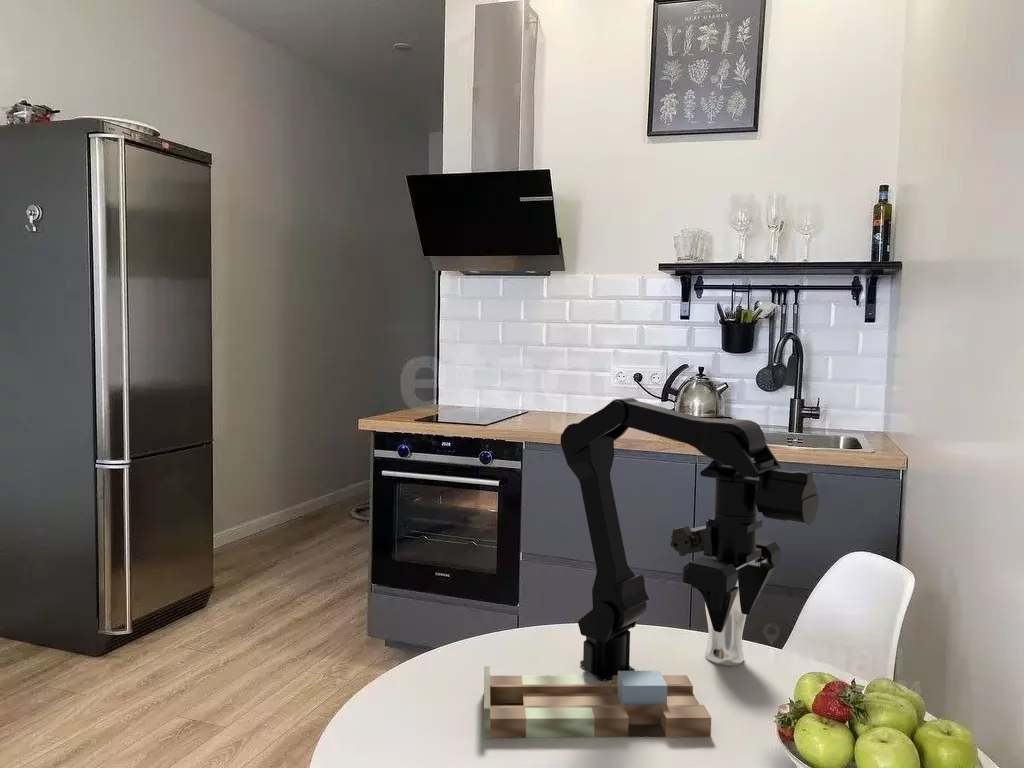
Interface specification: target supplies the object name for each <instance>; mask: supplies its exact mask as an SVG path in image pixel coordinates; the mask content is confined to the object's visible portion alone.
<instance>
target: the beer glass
mask: <svg viewBox="0 0 1024 768" xmlns="http://www.w3.org/2000/svg"><path fill="white" fill-rule="evenodd" d="M736 587H739V585H738V581H737V583H736ZM704 605H705V607H704V608H705V613H706V614H705V615H706V621H707V627H708V635H707V636H708V638H707V639H708V640H707V645H706V648H705V652H704V653H705V658H706V659H707V660H708V661H709V662H712V663H713V664H717V665H720V666H727V667H731V666H739V665H741V664H742V663H743V662H744V651H743V640H742V639H743V632H744V627H745V622H746V618H747V615H746V614H742V612H741V607H740V597H739V589H738V592H737V594H736V597H735V600H734V602H733V605H732V608H731V610H730V613H729V616H728V619H727V621H726V624H725V626H724V629H723V631H722V632H721V633H720V632H716V631H714V629H713V626H712V623H711V619H710V616H709V613H708V609H707V606H706V603H705V602H704Z"/></svg>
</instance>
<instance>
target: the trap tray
mask: <svg viewBox="0 0 1024 768" xmlns="http://www.w3.org/2000/svg"><path fill="white" fill-rule="evenodd" d="M483 670H484V671H483V674H484V675H483V676H484V677H483V685H484V686H483V739H519V738H520V739H521V738H522V739H529V738H531V739H533V738H537V739H539V738H545V739H548V738H550V739H551V738H552V739H553V738H555V739H556V738H562V739H563V738H681V737H682V738H691V737H692V738H694V737H695V738H697V737H698V738H700V737H701V738H702V737H703V738H708V737H709V738H710V737H711V735H712V717H711V715H710V713H709V711H708V710H707V708H706V706H705V704H700V703H699V701H698V699H697V697H696V695H695V694H694V685H693V683H692V682H691V680H690V678H689V677H688V675H687V674H674V675H673V674H665V675H663V674H662V676H663V678H664V680H665V682H666V684H667V705H621V704H620V701H619V698H618V695H617V688H618V675H613V678H612V684H609V683H608V684H606V683H605V684H603V683H602V684H601V683H600V684H597V683H596V684H590V683H589V684H586V683H585V679H584V676H583V674H582V675H581V674H579V675H575V674H574V675H567V674H566V675H562V674H561V675H491V672H490V671H491V667H490V666H489V665H486V666H484V667H483Z"/></svg>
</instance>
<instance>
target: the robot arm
mask: <svg viewBox="0 0 1024 768" xmlns="http://www.w3.org/2000/svg"><path fill="white" fill-rule="evenodd" d="M629 428H631V429H633V430H638V431H641V432H644V433H648V434H651V435H654V436H659V437H662V438H665V439H668V440H673V441H675V442H680V443H682V444H686V445H689V446H690V447H692V448H695V450H697V451H698V452H699V453H700V454H702V455H704V456H705V457H707V458H709V459H711V461H710V463H709V465H707V466H706V467H705V468H703V469H702V470H701V471H700V473H699V474H700V476H701V477H704V478H711V479H712V478H713V479H714V499H713V500H714V501H713V502H714V503H713V505H714V506H713V508H714V509H713V516H712V517H709V518H708V519H707V520H706V522H705V525H703V526H702V525H701V526H698V527H693V528H691V527H689V526H688V525H684V526H681V527H677V528H673V529H672V532H671V533H672V534H671V536H670V537H671V541H670V544H669V545H670V546H671V548H673V550H674V551H676V552H678V555H679V557H685V556H687V555H688V554H694V553H701V552H703V556H700V557H698V558H695V559H693V560H691V561H689V562H688V563H687V564H685V565H684V566H683V568H682V582H683V583H684V584H687V585H689V586H690V587H691V588H694V589H696V590H698V592H700V593H701V595H702V598H703V600H704V604H705V603H706V606H707V609H708V613H709V616H710V619H711V623H712V626H713V629H714V631H716V632H720V633H721V632H722V631H723V629H724V626H725V624H726V621H727V619H728V616H729V613H730V610H731V608H732V605H733V602H734V600H735V597H736V594H737V592H738V589H739V597H740V607H741V612H742V614H746V616H748V615H750V614H751V612H752V610H753V608H754V607H755V605H756V602H757V601H758V598H759V597H760V595H761V593H762V591H763V590H764V588H765V585H766V584H767V582H768V580H769V578H770V577H771V574H772V573H773V571H774V570H775V569H776V565H777V564H778V563H780V562H781V558H782V557H781V556H782V555H781V554H782V553H781V552H782V550H781V547H780V546H779V545H778V544H777V542H776V541H773V540H769V539H763V538H759V537H758V538H757V531H758V529H760V528H763V519H761V518H758V512H759V513H761V514H762V516H763V517H764V518H767V519H773V520H778V521H784V522H785V521H786V522H790V523H796V524H803V525H807V526H809V525H811V524H812V523H813V522H814V521H815V517H816V515H817V511H818V508H819V497H820V496H819V493H818V492H817V491H818V490H817V486H816V483H815V482H814V481H813V476H814V475H813V474H814V473H813V472H812V471H810V470H790V469H783V468H782V466H781V465H780V463H779V461H778V460H777V459H776V456H775V455H774V454H773V452H772V450H771V449H770V447H769V446H768V444H767V443H766V436H765V433H764V431H763V430H762V427H761V426H760V425H759V424H758V423H757V422H755V421H753V420H749V419H740V418H737V419H736V418H715V417H714V418H710V417H701V416H699V415H698V416H697V415H693V414H688V413H685V412H681V411H678V410H674V409H670V408H666V407H662V406H659V405H654V404H651V403H646V402H643V401H639V400H637V399H635V398H633V397H623V398H616V399H613V400H611V401H610V402H609V403H608V404H607V405H605V406H603V408H601V409H599V410H598V411H596V412H594V413H593V414H590V415H589V416H587V417H585V418H583V419H581V420H580V421H579V422H573V423H571V424H568V425H567V426H566V427H565V428H564V430H563V432H562V433H561V434H560V438H559V439H560V440H559V441H560V446H561V450H562V453H563V455H564V458H565V461H566V465H567V466H568V467H569V469H570V470H571V472H572V473H573V475H575V477H576V478H577V480H578V483H579V487H580V493H581V497H582V502H583V507H584V513H585V517H586V518H585V519H586V523H587V527H588V533H589V534H588V535H589V538H590V544H591V548H592V549H591V550H592V554H593V560H594V564H595V575H594V581H593V585H592V588H591V589H592V590H591V604H592V606H591V607H592V608H591V610H590V611H589V612H587V613H586V614H584V615H583V617H581V618H580V619H578V621H577V624H578V628H579V632H580V635H581V636H583V637H585V640H584V641H583V649H582V650H583V653H582V654H583V655H582V656H583V657H582V659H581V660H580V662H579V663H580V664H579V665H580V666H581V667H583V668H584V669H585V670H586V671H588V672H589V673H590V674H591V675H593V676H594V677H596V678H597V679H598V681H604V680H609V679H613V675H618V671H636V669H635V668H633V667H632V666H631V665H630V655H631V654H630V653H631V652H630V651H631V650H630V649H631V648H630V647H631V631H630V629H633V628H635V627H636V625H637V622H638V620H640V619H641V618H642V617H643V616H644V614H645V612H646V611H647V602H648V601H650V598H649V595H648V593H647V590H646V586H645V583H646V581H645V577H644V575H643V574H637V575H636V574H635V573H634V571H632V569H631V568H630V566H629V565H628V561H627V556H626V552H625V551H626V550H625V546H624V541H623V536H622V531H621V527H620V520H619V514H618V511H617V505H616V501H615V496H614V490H613V485H612V480H611V471H612V468H613V464H614V459H615V443H614V442H615V441H616V440H618V439H619V438H620V437H622V436H623V435H625V433H626V432H627V431H628V430H629ZM753 461H754V462H753ZM704 556H705V557H704ZM708 557H709V558H708ZM713 557H714V558H715V559H713ZM737 581H738V585H739V587H736V583H737Z"/></svg>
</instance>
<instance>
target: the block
mask: <svg viewBox="0 0 1024 768" xmlns="http://www.w3.org/2000/svg"><path fill="white" fill-rule="evenodd" d="M662 675H663V674H662V673H661V671H660V670H635V671H618V688H617V695H618V698H619V701H620V704H621V705H667V684H666V682H665V680H664V678H663V676H662Z"/></svg>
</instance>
